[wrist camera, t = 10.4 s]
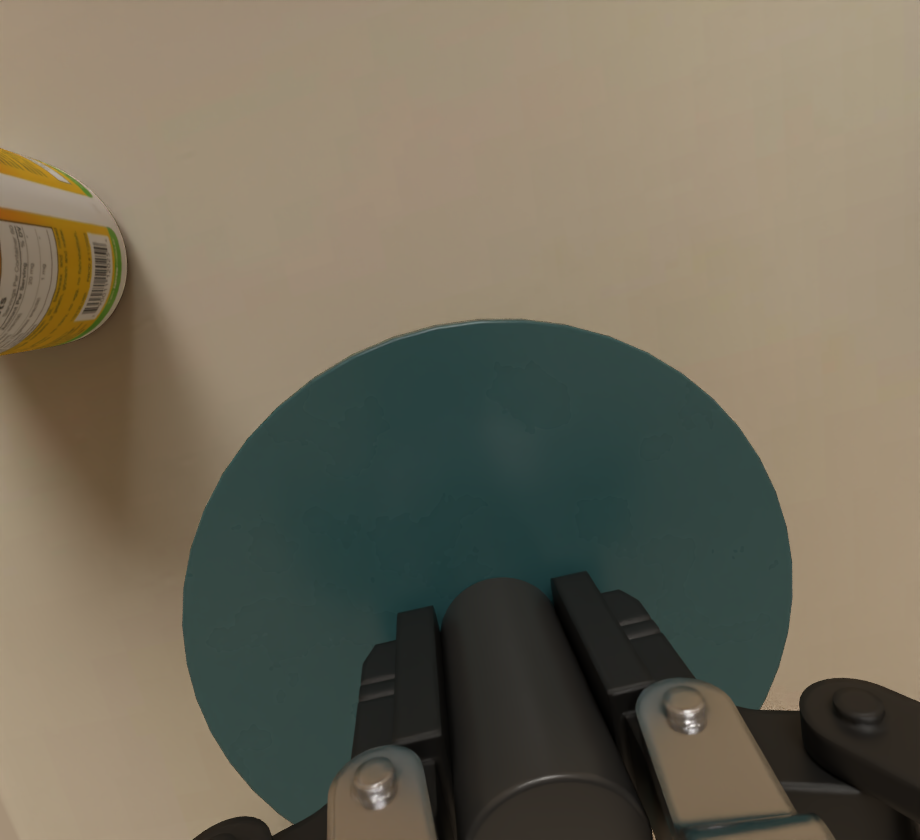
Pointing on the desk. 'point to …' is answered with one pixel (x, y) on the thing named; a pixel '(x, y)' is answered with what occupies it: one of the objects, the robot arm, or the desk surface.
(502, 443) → the pan lid
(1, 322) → the supplement bottle
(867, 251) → the desk surface
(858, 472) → the desk surface
